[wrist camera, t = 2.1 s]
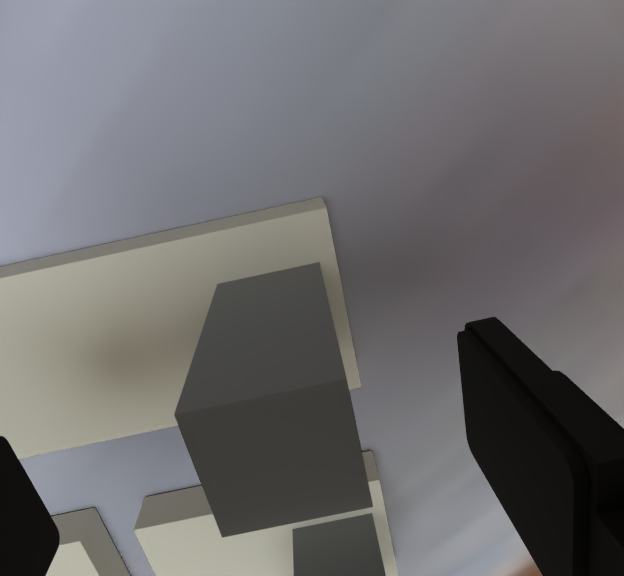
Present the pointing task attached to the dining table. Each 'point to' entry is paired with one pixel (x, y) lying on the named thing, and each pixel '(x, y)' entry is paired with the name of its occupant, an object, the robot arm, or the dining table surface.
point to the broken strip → (231, 541)
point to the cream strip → (133, 323)
